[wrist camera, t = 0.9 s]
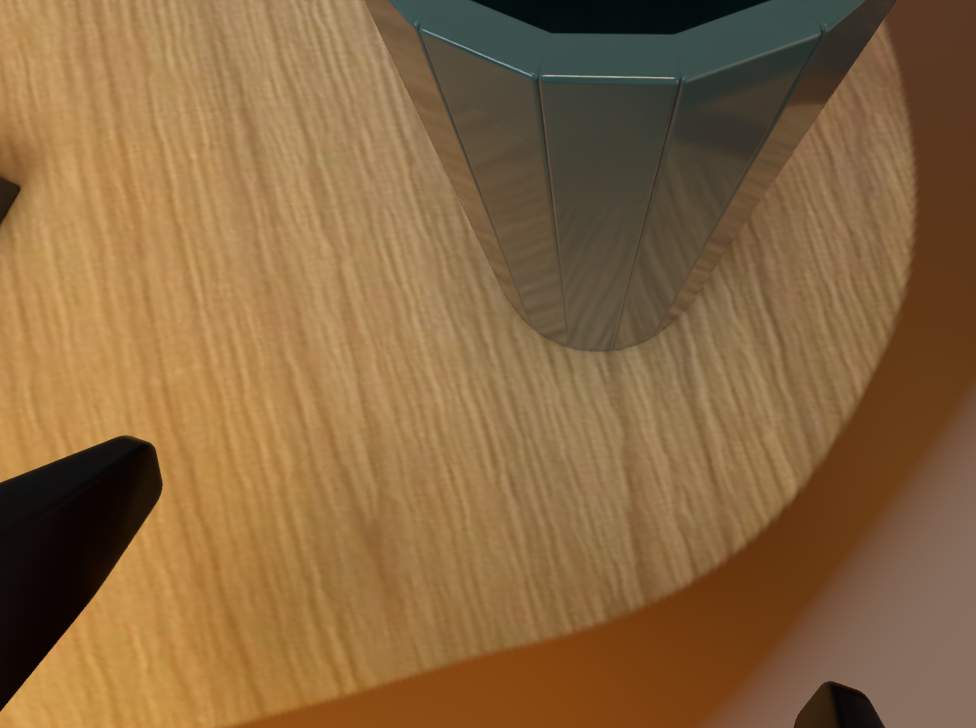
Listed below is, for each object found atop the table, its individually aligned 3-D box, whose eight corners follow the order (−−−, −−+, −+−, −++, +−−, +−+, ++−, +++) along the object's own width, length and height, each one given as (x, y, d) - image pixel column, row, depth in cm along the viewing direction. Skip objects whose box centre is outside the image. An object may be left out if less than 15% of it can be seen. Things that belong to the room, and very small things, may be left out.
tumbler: (645, 388, 22) (809, 196, 6) (461, 296, 23) (195, -66, 7) (740, 203, 22) (1129, -433, 6) (554, 122, 23) (495, -580, 8)
